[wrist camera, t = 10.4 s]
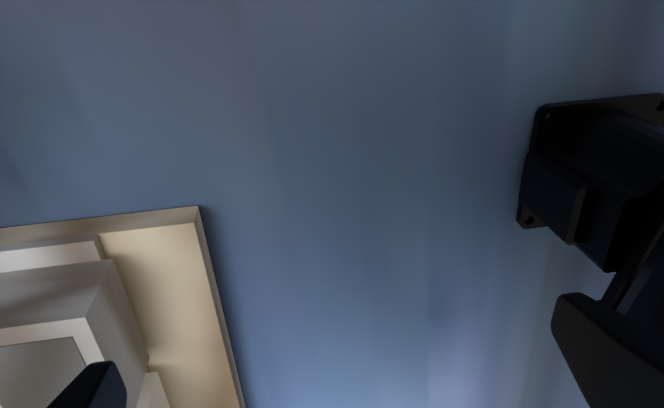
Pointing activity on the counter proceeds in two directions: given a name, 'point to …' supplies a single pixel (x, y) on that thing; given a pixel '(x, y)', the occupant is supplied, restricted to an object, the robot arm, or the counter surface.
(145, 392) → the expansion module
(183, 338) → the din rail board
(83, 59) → the counter surface
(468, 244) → the counter surface
